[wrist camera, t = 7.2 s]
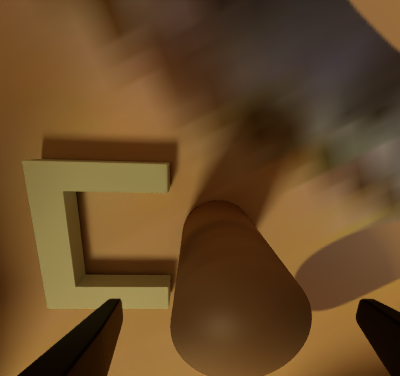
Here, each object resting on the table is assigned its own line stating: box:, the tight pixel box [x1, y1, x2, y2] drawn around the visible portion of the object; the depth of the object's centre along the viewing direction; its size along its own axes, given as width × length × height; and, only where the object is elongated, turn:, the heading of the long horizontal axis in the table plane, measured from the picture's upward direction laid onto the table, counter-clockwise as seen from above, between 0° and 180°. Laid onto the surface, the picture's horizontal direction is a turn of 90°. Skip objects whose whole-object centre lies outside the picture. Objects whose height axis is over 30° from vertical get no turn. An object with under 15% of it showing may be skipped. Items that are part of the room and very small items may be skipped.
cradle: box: [22, 159, 171, 309], centre depth 12 cm, size 10×8×1 cm
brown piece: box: [170, 200, 312, 376], centre depth 10 cm, size 5×5×7 cm
